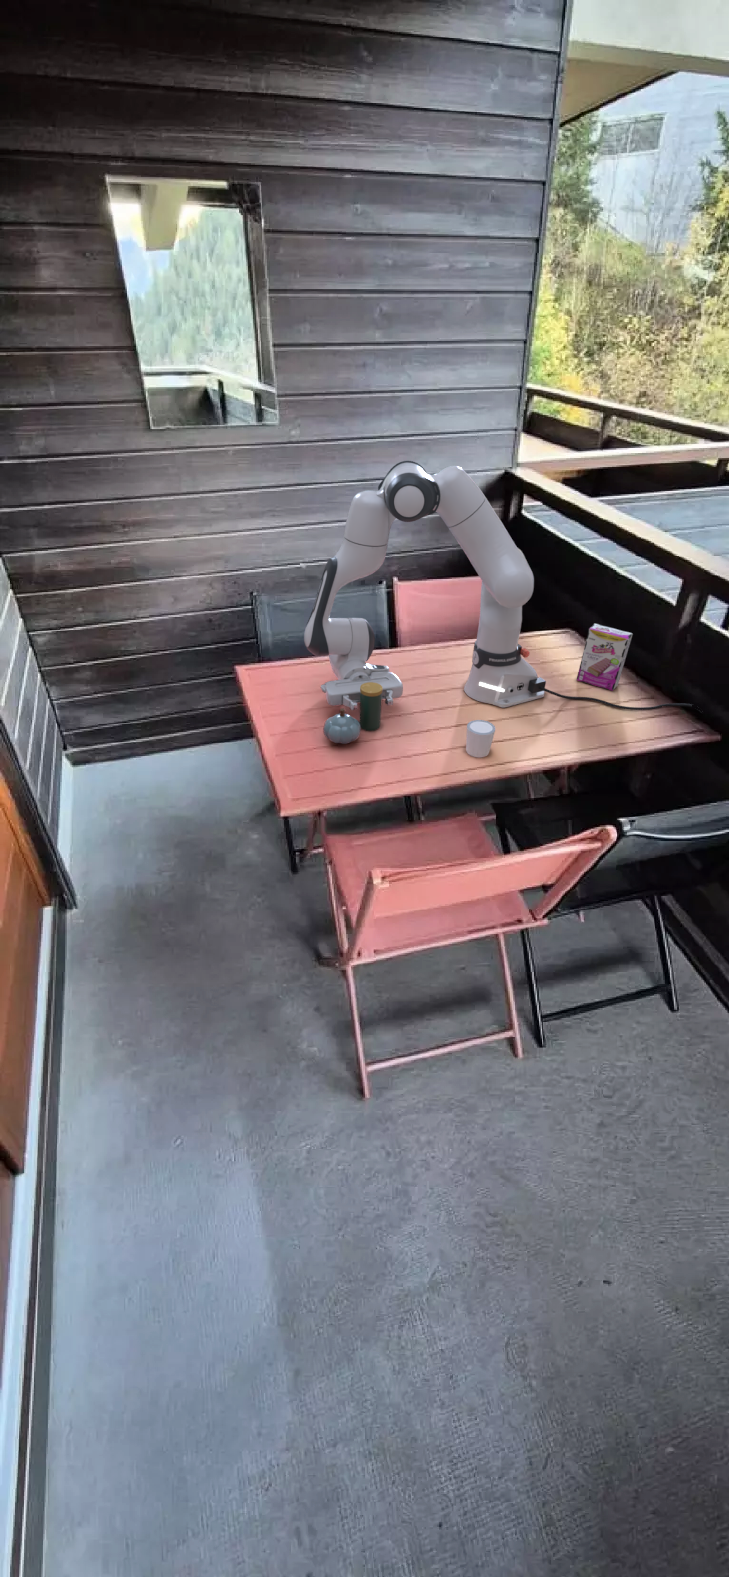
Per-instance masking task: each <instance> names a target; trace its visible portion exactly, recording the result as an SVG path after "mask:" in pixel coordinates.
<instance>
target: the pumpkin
mask: <svg viewBox="0 0 729 1577" xmlns="http://www.w3.org/2000/svg"><path fill="white" fill-rule="evenodd" d="M361 730H362V728H361V725H360V723H359V720H358V719H357V718H355V717H354V716H352V715H350V714H348V713H346V709H345V708H342V707H341V708H340V709H339V713H336V714H334V715H333V716H329V717H328V718H327V719H326V720H325V722H324V725H323V731H322V732H323V734H324V736H325V738H327V740H330V741H331V742H332V743H334V744H341V745H347V744H350V743H351V742H354V741H356V740H358V739H359V737H360V735H361Z"/></svg>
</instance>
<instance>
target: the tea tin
mask: <svg viewBox="0 0 729 1577" xmlns="http://www.w3.org/2000/svg"><path fill="white" fill-rule="evenodd" d="M382 692H383V687H382V686H381V685H380V684H378V683H374V682H368V683H364V684H362V685H361V686H360V703H359V720H358V721H359V723H360V725H361V730H364V731H368V732H371V731H372V732H373V731H377V730H379V729H380V727H381V719H382V704H383V703H382V701H383V700H382Z"/></svg>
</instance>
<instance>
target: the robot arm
mask: <svg viewBox="0 0 729 1577" xmlns="http://www.w3.org/2000/svg"><path fill="white" fill-rule="evenodd" d="M435 513H436V514H438V516H439V517H440V518H441V520H442V522H444V524H445V526H446V528H447V529H448V530H449V532H450V533H451V535H452V536H453V538H455V540H456V542H457V543H458V544H459V546H460V548H461V549H462V550H463V552H464V554H465V555H466V557H467V558H468V560H469V562H470V564H471V565H472V567H473V569H474V570H475V572H476V573H477V575H478V577H479V578H480V580H481V588H480V604H479V605H480V608H479V619H478V626H477V627H478V628H477V633H476V640H475V641H474V645H473V650H472V656H471V658H472V659H471V662H472V663H471V667H470V671H469V674H468V676H467V680H466V682H465V684H464V686H463V691H464V693H465V694H466V696H467V697H469V698H471V699H472V700H475V701H477V702H480V703H484V704H490V705H493V706H495V707H499V708H502V709H504V708H509V707H512V706H516V705H519V704H524V703H527V702H531V701H535V700H539V699H541V698H544V697H545V692H546V693H547V694H551V695H553V696H556V697H559V698H562V699H567V700H576V701H577V700H581V701H593V702H596V703H600V704H604V705H607V706H608V707H609V706H610V707H612V708H616V709H622V710H628V711H629V710H630V711H649V710H650V711H652V710H656V709H660V708H663V707H662V706H666V707H687V708H692V705H693V704H692V703H691V704H690V703H662V704H658V705H655V706H654V705H653V706H639V707H636V706H635V707H634V706H626V705H620V704H619V705H618V704H615V703H612V702H609V701H605V700H602V699H599V698H596V697H588V696H569V695H565V694H560V693H558V692H555V691H553V690H550V689H548V688H546V684H547V681H546V680H545V679H544V678H542V677H541V676H539V677H538V672H537V671H536V669H535V668H534V667H533V666H532V664H530V663H529V662H528V661H526V659H525V658H528V657H529V656H530V653H531V652H530V651H529V650H528V649H527V648H525V647H524V648H523V646H521V645H520V644H519V640H520V639H519V638H520V635H521V629H522V623H523V606H524V605H526V603H528V601H529V600H530V599H531V598H532V596H533V593H534V588H535V576H534V573H533V571H532V569H531V567H530V565H529V563H528V561H527V559H526V556H525V554H524V553H523V550H521V549H520V548H519V547H517V545H516V543H515V541H514V540H513V539H512V537H511V535H510V533H509V532H508V530H507V529H506V527H505V525H504V523H503V522H502V520H501V518H500V517H499V516H498V514H497V512H496V511H495V509H494V508H493V507H492V505H491V502H490V501H489V500H488V498H487V497H486V496H485V494H484V493H483V490H481V488H480V487H479V486H478V484H477V483H476V482H475V481H474V479H473V478H472V477H471V476H470V475H469V474H468V472H466V471H465V469H463V468H462V467H461V466H458V465H450V466H447V467H444V468H442V469H441V470H439V471H438V472H437V473H434V474H429V473H428V472H427V471H426V469H425V467H423V465H421V464H420V463H418V462H416V461H413V460H403V461H402V460H401V461H400V462H397V463H396V464H394V465H393V466H392V467H391V468H390V469H389V471H387V473H386V474H385V476H384V478H382V480H381V481H380V483H379V484H378V486H377V490H371V489H369V490H362V491H360V492H357V493H356V494H355V495H354V496H353V498H352V500H351V502H350V506H349V509H348V513H347V516H346V520H345V526H344V531H343V538H342V542H341V545H340V547H339V549H338V550H337V552H336V553H335V554H334V555H333V556H332V557H330V558H328V560H327V562H326V563H325V566H324V569H323V572H322V575H321V578H320V581H319V585H318V589H317V592H316V595H315V598H314V603H313V605H312V609H311V613H310V616H309V618H308V620H307V623H306V625H305V629H304V631H303V632H304V633H303V641H304V642H303V643H304V647H305V648H306V650H308V651H309V652H310V653H311V654H312V655H314V656H315V657H317V658H318V657H328V661H329V664H330V665H329V666H330V667H331V670H332V672H333V674H334V676H335V677H336V679H334V680H329V681H325V682H324V683H323V684H321V685H320V689H321V691H322V692H323V693H324V694H325V698H326V703H327V705H329V706H332V707H336V706H345V707H347V708H349V709H350V710H351V711H355V710H358V703H359V704H360V686H361V685H362V684H364V683H368V682H374V683H378V684H380V685H381V686H382V687H383V692H382V701H383V700H384V702H385V705H386V706H393V705H394V699H400V698H402V696H403V693H404V684H403V682H402V680H401V679H400V678H399V677H398V676H397V674H395V672H394V673H393V672H391V671H390V667H389V666H388V665H383V664H372V663H368V661H369V659H370V658H371V656H372V654H373V652H374V649H375V642H376V636H375V632H374V628H373V627H372V626H371V624H370V623H369V622H368V620H367V619H366V618H364V617H330V616H331V613H332V610H333V606H334V603H335V600H336V596H337V594H338V592H339V590H341V589H342V588H344V587H345V586H346V585H348V584H350V583H352V582H355V581H357V580H360V579H364V578H366V577H369V576H371V575H372V574H374V573H376V572H377V571H378V570H379V569H380V568H381V567H382V566H383V564H384V562H385V559H386V556H387V552H388V546H389V540H390V539H389V538H390V532H391V528H392V525H393V523H394V522H395V520H398V521H401V522H403V523H413V522H416V521H418V520H421V519H423V518H425V517H428V516H430V515H433V514H435ZM693 709H695V710H696V711H698V713H700V714H703V713H702V712H703V711H702V712H701V711H700V710H698V709H696V708H693Z"/></svg>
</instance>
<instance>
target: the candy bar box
mask: <svg viewBox="0 0 729 1577" xmlns="http://www.w3.org/2000/svg"><path fill="white" fill-rule="evenodd" d="M633 635H634V634H633V633H632V632H629V631H625V630H621V629H617V628H614V627H610V626H606V625H602V624H599V623H593V624H592V626H590V627H589V628H588V632H587V636H586V640H585V643H584V648H583V651H582V656H581V660H580V664H579V668H578V672H577V676H576V681H578V682H581V683H585V684H588V685H591V686H595V687H598V688H601V689H605V690H609V691H612V692H614V690H615V689H616V688H617V687H618V685H619V684H620V680H621V676H622V673H623V670H624V665H625V662H626V658H627V656H628V653H629V652H628V651H629V648H630V645H631V642H632V638H633Z"/></svg>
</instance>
